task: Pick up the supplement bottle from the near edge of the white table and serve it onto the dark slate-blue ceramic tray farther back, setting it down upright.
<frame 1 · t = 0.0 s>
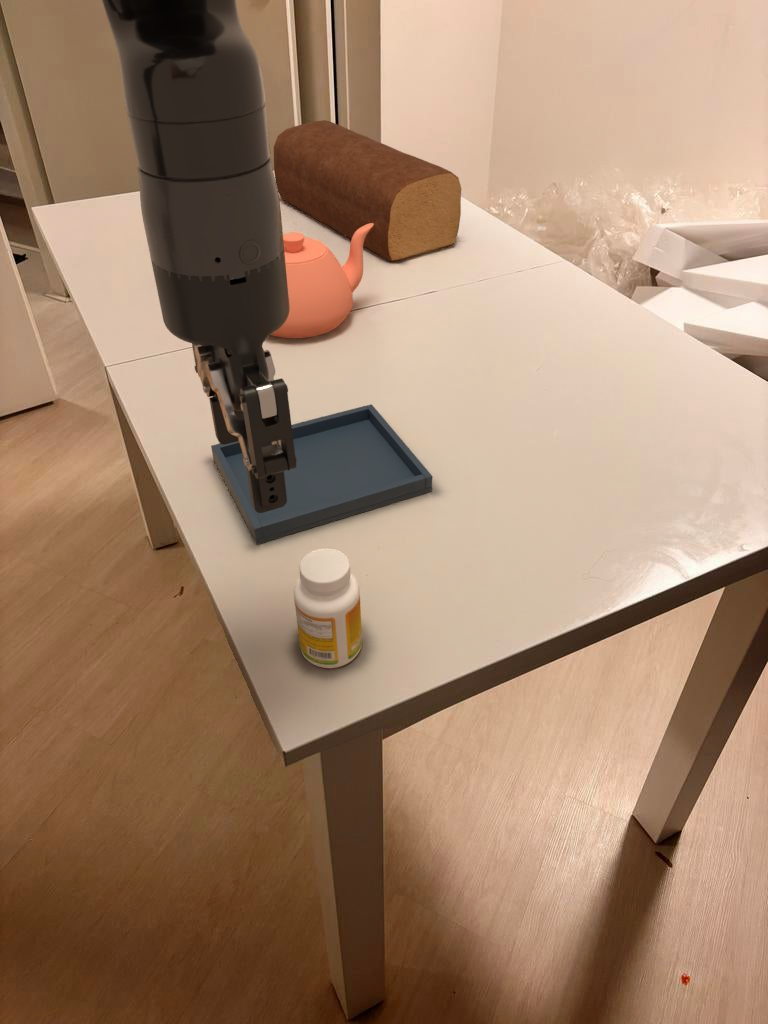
hand: (250, 471, 56), 20 cm above the table, tool pointing down, fingers open, 8 cm apart
bread: (362, 222, 147), on the table
supplement bottle: (331, 647, 70), on the table
tray: (320, 475, 88), on the table
mug: (245, 264, 133), on the table
teapot: (306, 319, 117), on the table
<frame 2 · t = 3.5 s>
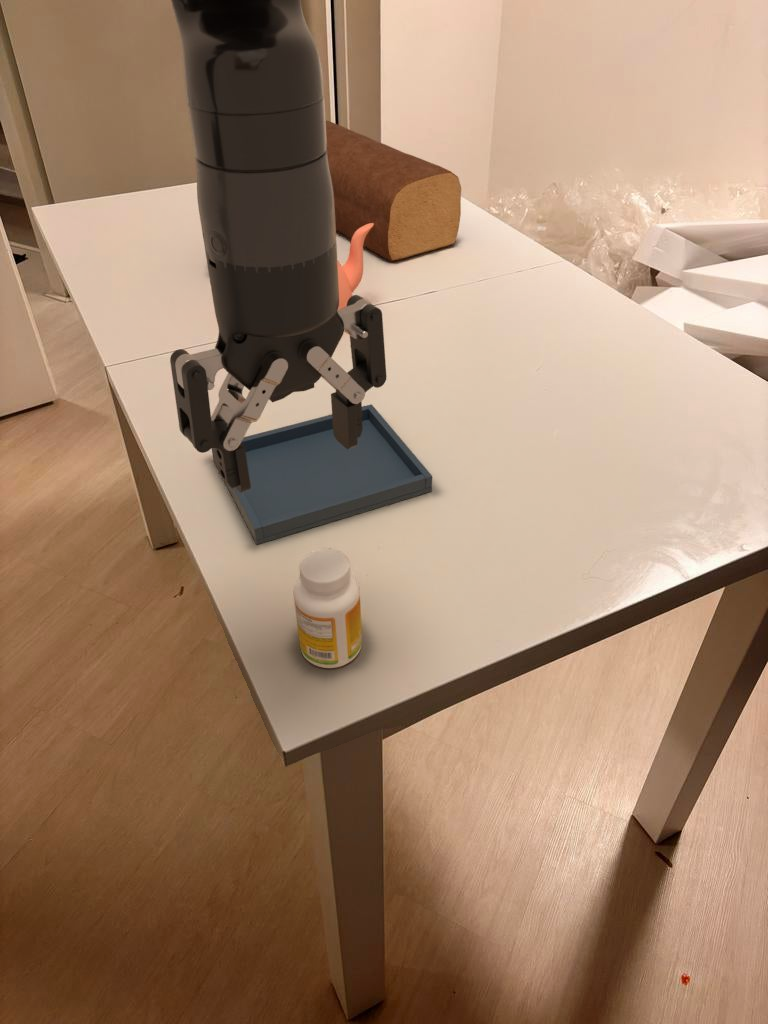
hand: (294, 463, 56), 20 cm above the table, tool pointing down, fingers open, 8 cm apart
nothing on the table moved.
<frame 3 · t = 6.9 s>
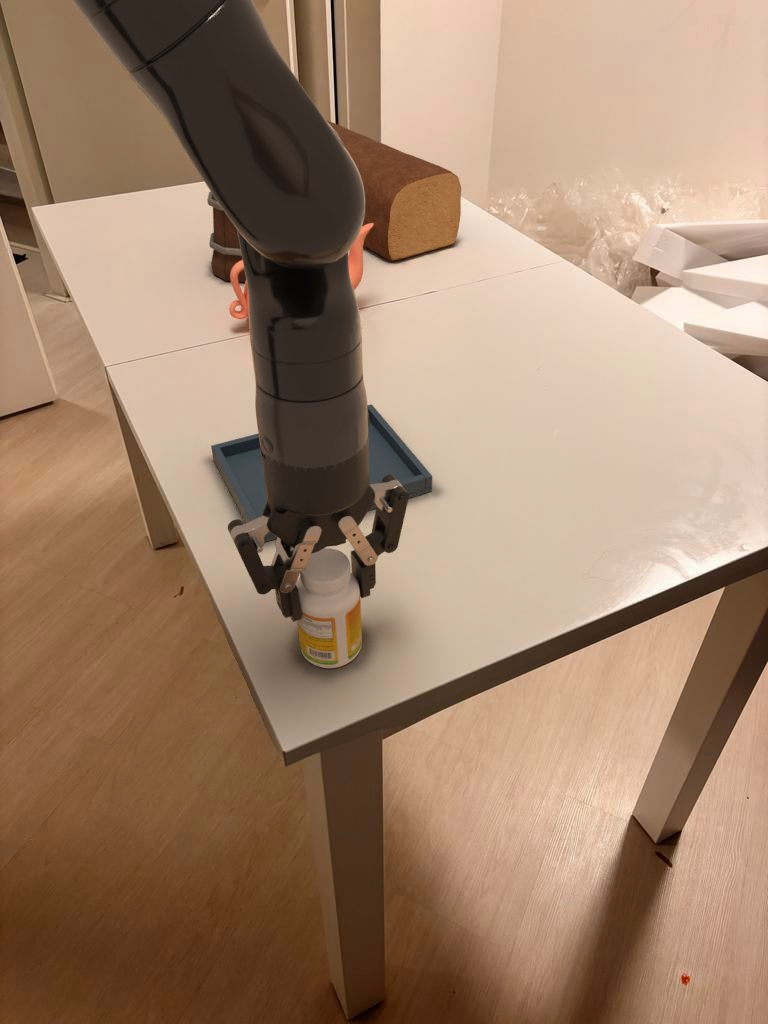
hand: (327, 601, 66), 5 cm above the table, tool pointing down, fingers closed on supplement bottle, 5 cm apart
supplement bottle: (331, 647, 70), on the table, touching gripper
everything else where it was.
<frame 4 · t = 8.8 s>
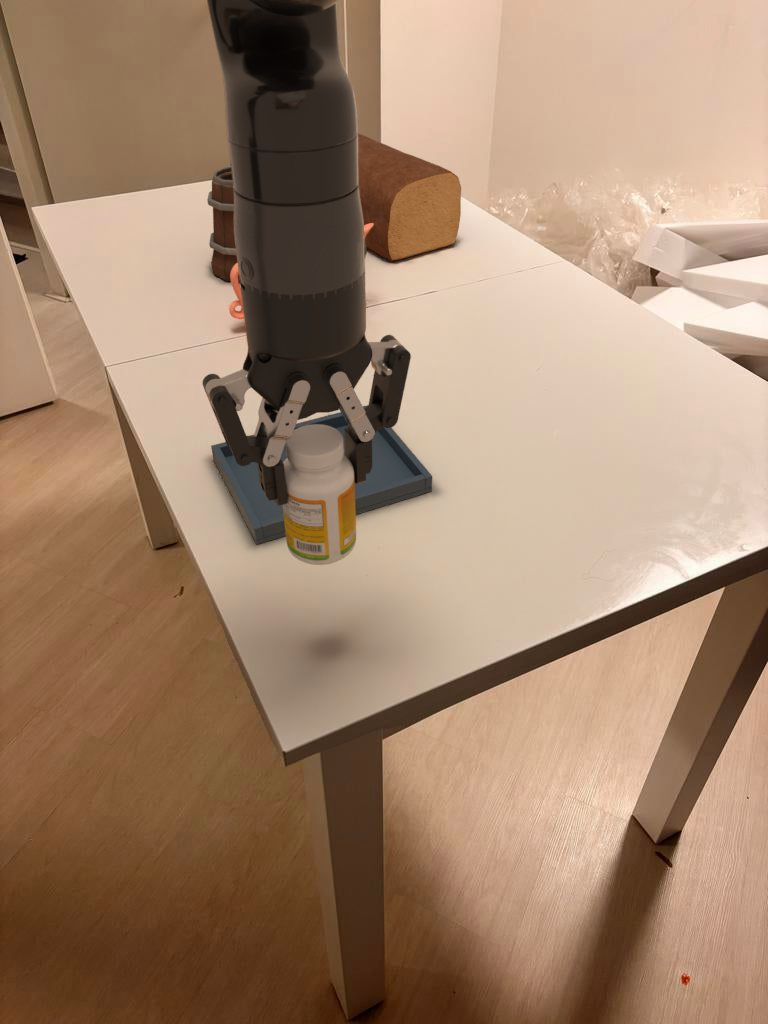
hand: (317, 486, 58), 17 cm above the table, tool pointing down, fingers closed on supplement bottle, 5 cm apart
supplement bottle: (321, 545, 62), point 12 cm above the table, touching gripper
everything else where it was.
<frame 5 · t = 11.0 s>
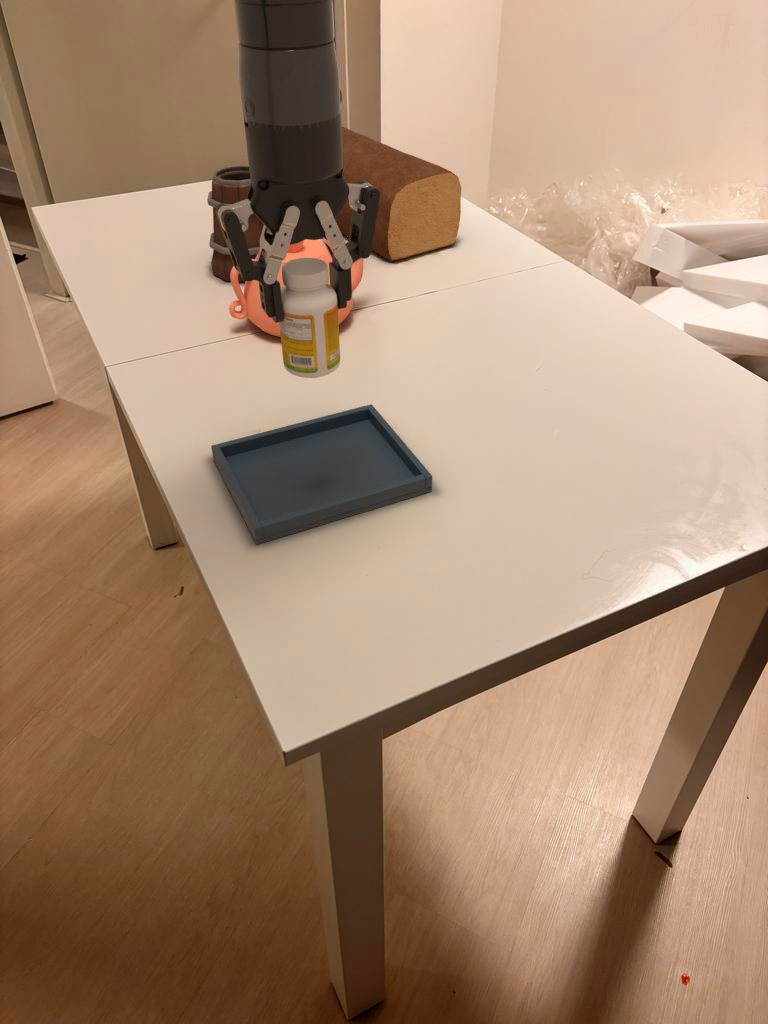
hand: (307, 311, 72), 21 cm above the table, tool pointing down, fingers closed on supplement bottle, 5 cm apart
supplement bottle: (312, 366, 76), point 15 cm above the table, touching gripper
everything else where it was.
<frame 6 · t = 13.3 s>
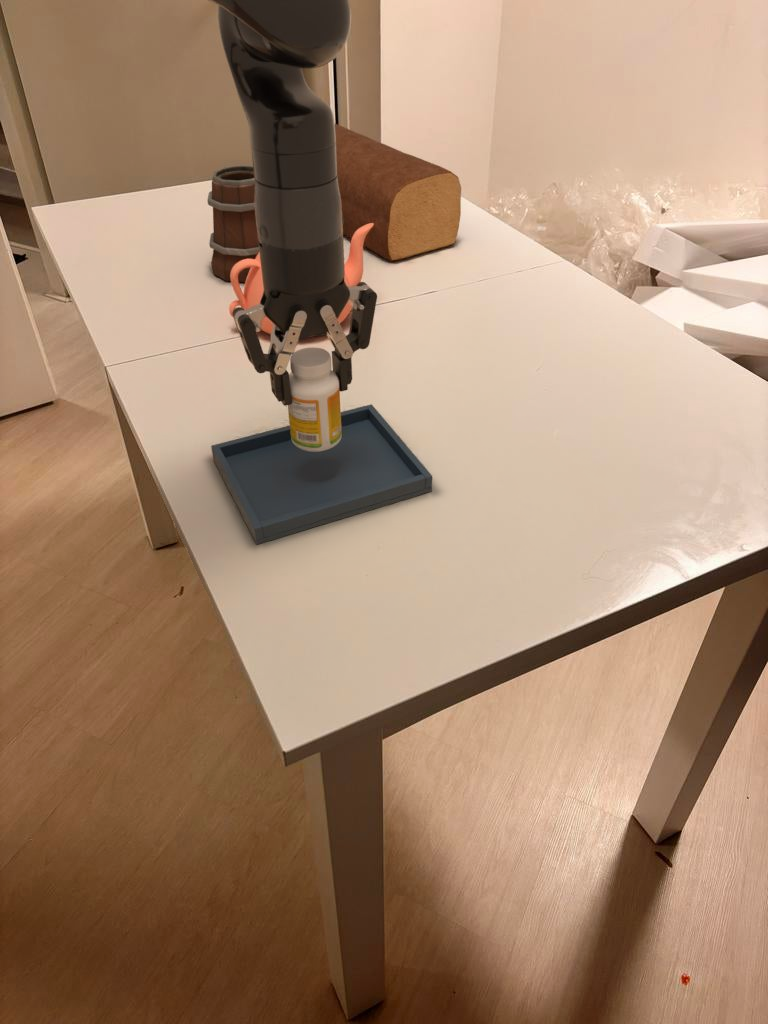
hand: (312, 393, 81), 10 cm above the table, tool pointing down, fingers closed on supplement bottle, 5 cm apart
supplement bottle: (316, 440, 85), point 5 cm above the table, touching gripper
everything else where it was.
when the fingers open (6 cm above the table, at t = 14.9 s): supplement bottle stays where it is, resting on tray.
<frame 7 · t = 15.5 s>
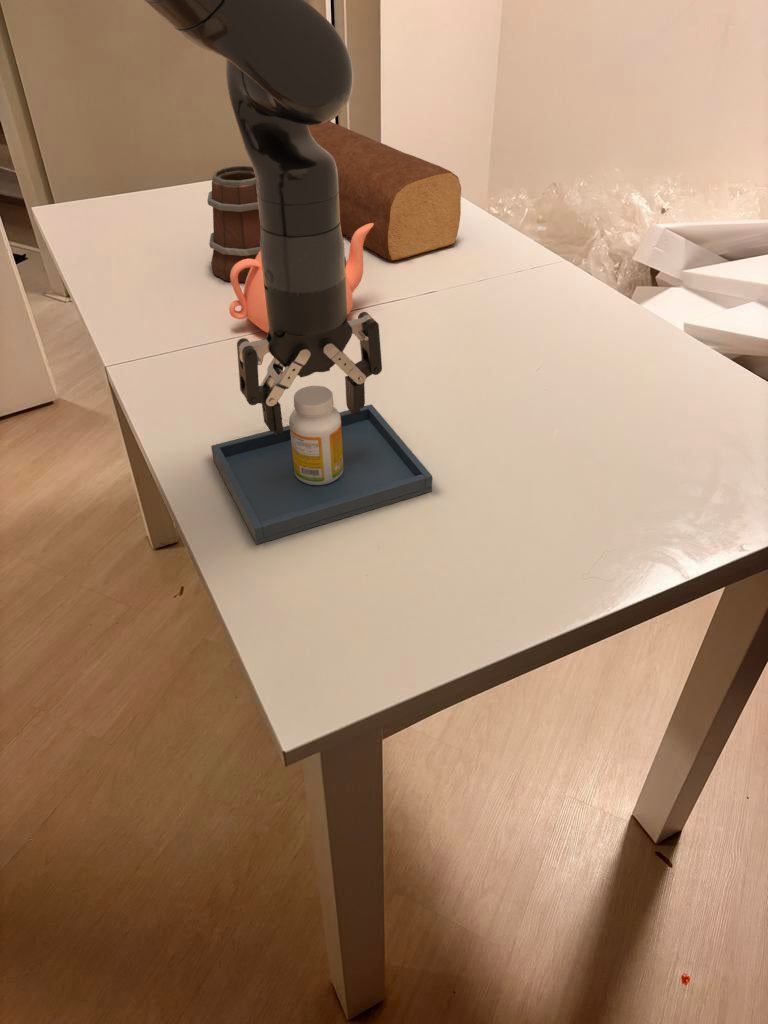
hand: (315, 421, 83), 7 cm above the table, tool pointing down, fingers open, 8 cm apart
supplement bottle: (319, 473, 88), resting on tray
everything else where it was.
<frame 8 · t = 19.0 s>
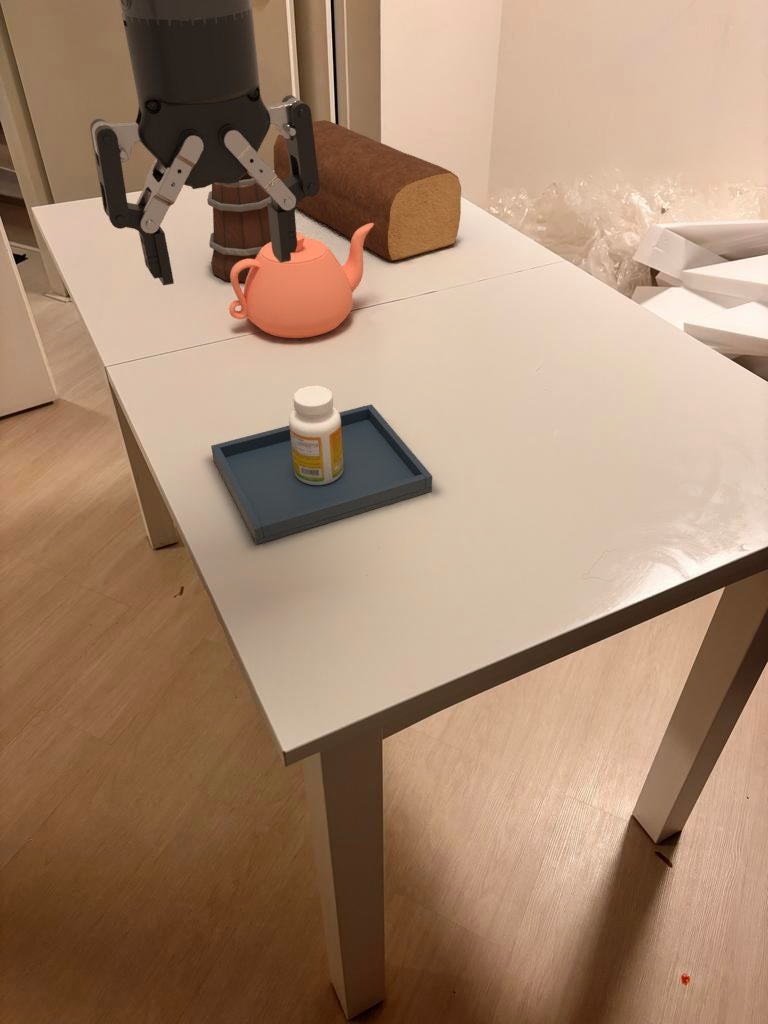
hand: (224, 269, 57), 30 cm above the table, tool pointing down, fingers open, 8 cm apart
nothing on the table moved.
at the end: supplement bottle inside the target area in the tray (0.1 cm from its centre), point 0.4 cm above the tray's base; supplement bottle tilted 0°; the gripper is holding nothing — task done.
